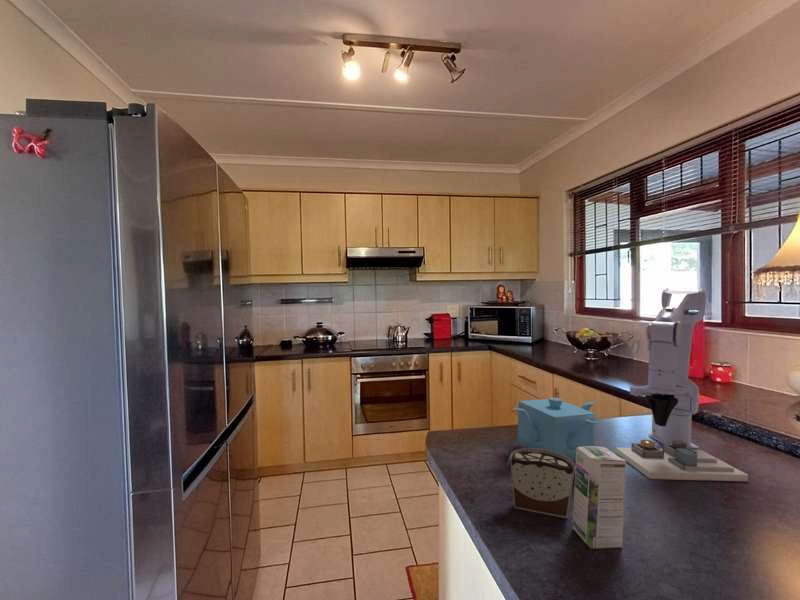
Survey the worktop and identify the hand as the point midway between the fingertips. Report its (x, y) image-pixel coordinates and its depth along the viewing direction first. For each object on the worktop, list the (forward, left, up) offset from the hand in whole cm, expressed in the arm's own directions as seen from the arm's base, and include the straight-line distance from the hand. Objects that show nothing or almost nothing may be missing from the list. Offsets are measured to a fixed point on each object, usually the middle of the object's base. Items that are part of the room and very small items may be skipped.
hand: (660, 424), depth 96 cm
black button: (-2, +6, -6) cm, 9 cm away
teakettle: (-1, -25, -10) cm, 27 cm away
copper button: (-2, -2, -6) cm, 7 cm away
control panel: (+2, +3, -9) cm, 10 cm away
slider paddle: (+5, +3, -8) cm, 9 cm away
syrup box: (+31, -31, -10) cm, 45 cm away
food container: (+21, -37, -10) cm, 43 cm away
